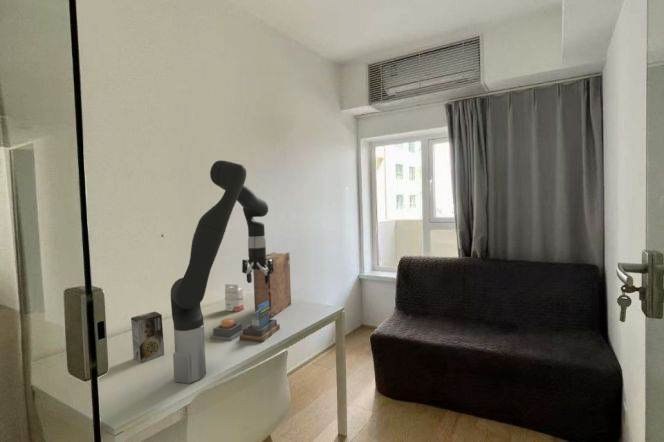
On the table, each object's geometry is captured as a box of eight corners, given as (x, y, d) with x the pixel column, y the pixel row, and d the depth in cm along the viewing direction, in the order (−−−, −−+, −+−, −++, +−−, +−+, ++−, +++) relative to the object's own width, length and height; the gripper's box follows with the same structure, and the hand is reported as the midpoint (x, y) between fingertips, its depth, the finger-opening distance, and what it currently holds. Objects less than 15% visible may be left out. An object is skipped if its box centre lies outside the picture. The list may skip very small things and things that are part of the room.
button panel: (231, 340, 147) (231, 331, 147) (209, 338, 151) (209, 329, 151) (245, 331, 158) (245, 322, 158) (224, 329, 161) (224, 320, 161)
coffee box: (157, 350, 139) (155, 311, 138) (164, 354, 135) (162, 313, 134) (132, 358, 132) (130, 317, 131) (140, 363, 128) (137, 320, 127)
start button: (229, 330, 151) (229, 322, 151) (219, 329, 152) (218, 321, 152) (236, 326, 156) (235, 318, 156) (226, 325, 157) (225, 318, 157)
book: (276, 303, 202) (274, 252, 200) (291, 304, 199) (289, 252, 198) (254, 317, 178) (252, 259, 176) (271, 318, 175) (269, 259, 173)
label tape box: (261, 326, 158) (260, 299, 158) (269, 326, 157) (268, 299, 157) (251, 333, 150) (250, 304, 149) (260, 333, 149) (259, 305, 148)
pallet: (262, 342, 145) (262, 331, 144) (239, 339, 148) (239, 329, 148) (279, 328, 160) (279, 319, 160) (258, 326, 163) (258, 317, 163)
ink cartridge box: (244, 309, 192) (242, 282, 192) (239, 311, 188) (238, 284, 187) (230, 308, 195) (229, 282, 194) (225, 310, 190) (224, 284, 189)
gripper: (275, 245, 153) (276, 281, 154) (247, 245, 158) (248, 280, 159) (267, 247, 146) (268, 285, 147) (237, 247, 151) (239, 284, 151)
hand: (258, 283), depth 153 cm, fingers open, 8 cm apart
